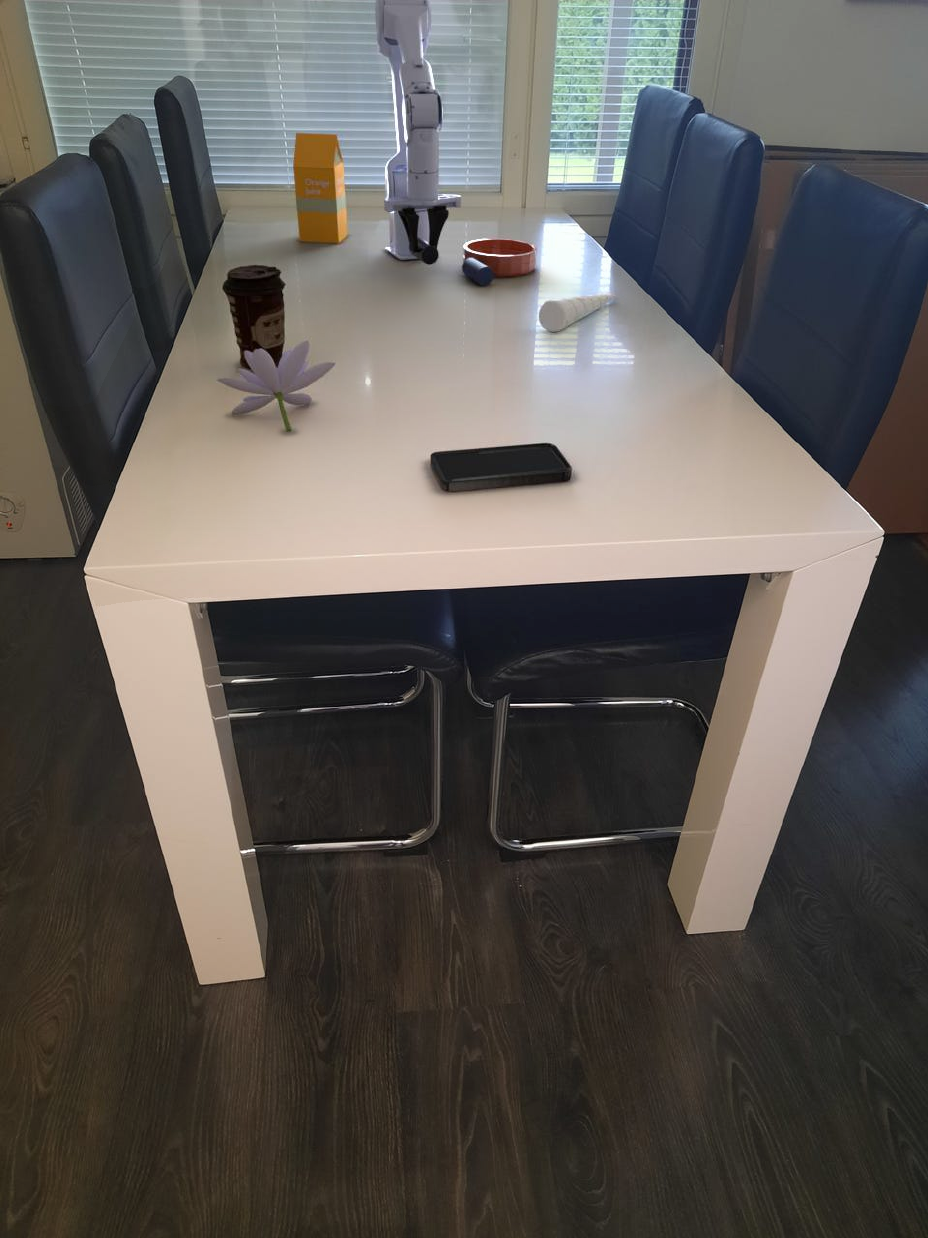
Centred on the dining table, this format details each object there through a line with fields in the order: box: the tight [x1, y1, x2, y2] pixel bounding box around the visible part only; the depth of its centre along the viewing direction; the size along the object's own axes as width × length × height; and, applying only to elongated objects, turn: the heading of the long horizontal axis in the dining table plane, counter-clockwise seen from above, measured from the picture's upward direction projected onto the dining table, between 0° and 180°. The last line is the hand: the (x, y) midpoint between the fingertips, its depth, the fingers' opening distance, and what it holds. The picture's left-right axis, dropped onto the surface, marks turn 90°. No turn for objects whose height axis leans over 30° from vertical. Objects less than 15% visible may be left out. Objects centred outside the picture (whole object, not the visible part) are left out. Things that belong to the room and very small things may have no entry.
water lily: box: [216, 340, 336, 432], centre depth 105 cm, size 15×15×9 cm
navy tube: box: [461, 258, 495, 287], centre depth 160 cm, size 7×3×3 cm
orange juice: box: [292, 132, 348, 244], centre depth 181 cm, size 8×9×20 cm
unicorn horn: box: [538, 293, 616, 333], centre depth 144 cm, size 5×24×5 cm, turn 142°
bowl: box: [462, 238, 538, 278], centre depth 168 cm, size 14×14×4 cm
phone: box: [429, 442, 573, 492], centre depth 97 cm, size 8×1×15 cm
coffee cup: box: [221, 264, 287, 372], centre depth 119 cm, size 9×8×13 cm
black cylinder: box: [409, 237, 440, 266], centre depth 163 cm, size 7×3×3 cm, turn 24°
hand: (423, 250), depth 163 cm, fingers closed on black cylinder, 3 cm apart
